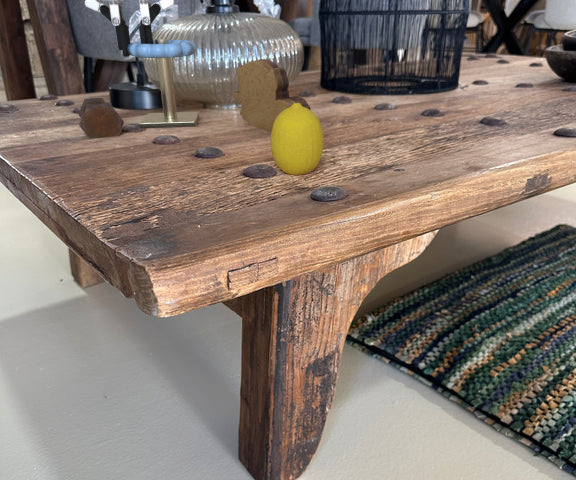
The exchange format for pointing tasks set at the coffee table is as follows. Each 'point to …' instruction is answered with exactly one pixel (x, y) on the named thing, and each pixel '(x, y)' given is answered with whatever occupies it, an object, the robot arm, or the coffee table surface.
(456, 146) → the coffee table surface
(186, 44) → the ring
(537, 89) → the coffee table surface
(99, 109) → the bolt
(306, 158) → the lemon
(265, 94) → the wooden carving
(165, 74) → the post
